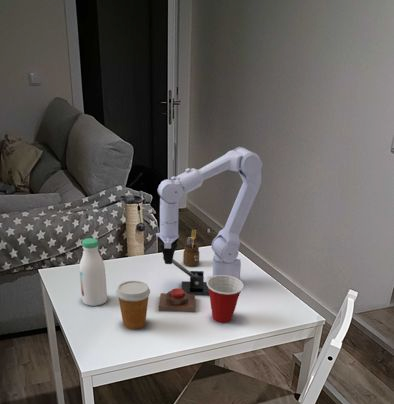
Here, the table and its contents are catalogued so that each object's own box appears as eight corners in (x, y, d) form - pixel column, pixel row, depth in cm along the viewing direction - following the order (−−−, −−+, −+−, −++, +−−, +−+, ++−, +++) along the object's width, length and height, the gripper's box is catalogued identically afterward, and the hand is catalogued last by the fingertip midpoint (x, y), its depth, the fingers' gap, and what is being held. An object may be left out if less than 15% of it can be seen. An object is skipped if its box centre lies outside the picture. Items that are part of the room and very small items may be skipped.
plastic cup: (215, 331, 142) (218, 293, 136) (198, 314, 150) (199, 278, 144) (247, 323, 146) (251, 286, 140) (229, 307, 154) (231, 272, 148)
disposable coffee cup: (118, 316, 147) (116, 280, 141) (150, 316, 148) (150, 280, 142) (116, 333, 139) (114, 295, 133) (150, 332, 140) (150, 295, 133)
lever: (161, 260, 157) (166, 253, 156) (161, 256, 160) (167, 249, 158) (197, 286, 162) (202, 280, 161) (197, 282, 164) (202, 276, 163)
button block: (194, 298, 159) (195, 289, 157) (194, 312, 151) (194, 302, 149) (160, 297, 158) (160, 288, 157) (158, 311, 151) (158, 301, 149)
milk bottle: (112, 298, 157) (108, 238, 146) (98, 308, 151) (93, 246, 140) (91, 293, 159) (86, 234, 149) (77, 303, 153) (71, 242, 143)
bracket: (181, 294, 161) (181, 278, 158) (181, 284, 168) (182, 268, 164) (211, 295, 161) (212, 279, 158) (211, 285, 168) (211, 269, 165)
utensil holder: (181, 265, 181) (182, 234, 175) (185, 259, 186) (186, 229, 180) (197, 267, 180) (198, 236, 174) (200, 261, 185) (202, 230, 179)
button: (183, 293, 155) (184, 288, 154) (183, 299, 151) (183, 294, 150) (171, 293, 155) (171, 288, 154) (170, 298, 151) (170, 293, 150)
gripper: (157, 212, 158) (157, 252, 165) (154, 227, 146) (154, 270, 153) (179, 213, 158) (178, 253, 165) (178, 228, 146) (177, 271, 153)
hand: (168, 261), depth 159 cm, fingers closed on lever, 3 cm apart
